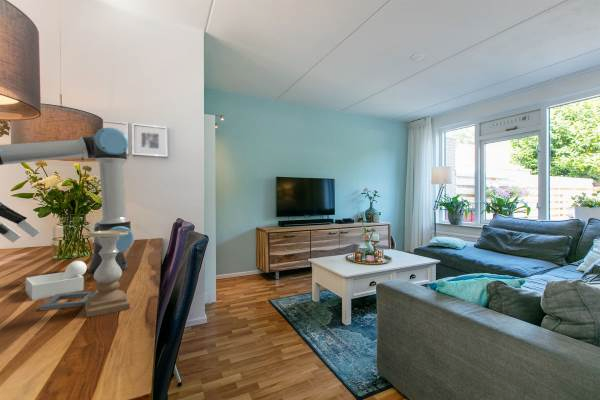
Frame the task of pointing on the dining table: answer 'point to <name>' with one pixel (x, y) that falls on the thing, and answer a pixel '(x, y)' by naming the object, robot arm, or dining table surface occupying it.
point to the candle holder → (107, 278)
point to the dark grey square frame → (54, 305)
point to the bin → (52, 285)
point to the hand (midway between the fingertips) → (27, 236)
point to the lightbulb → (74, 270)
